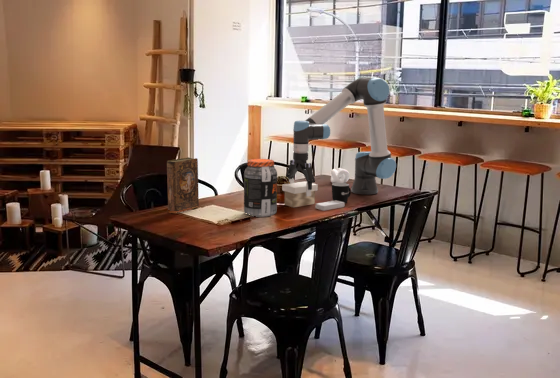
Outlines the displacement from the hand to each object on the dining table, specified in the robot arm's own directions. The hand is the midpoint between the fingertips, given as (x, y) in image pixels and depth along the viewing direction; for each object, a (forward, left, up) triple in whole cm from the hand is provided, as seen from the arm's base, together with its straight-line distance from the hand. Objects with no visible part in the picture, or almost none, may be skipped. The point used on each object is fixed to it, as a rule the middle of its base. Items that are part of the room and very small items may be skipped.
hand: (299, 193), depth 290 cm
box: (0, 0, -6) cm, 6 cm away
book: (+53, -25, -7) cm, 59 cm away
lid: (0, 0, +2) cm, 2 cm away
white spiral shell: (-57, -32, -7) cm, 66 cm away
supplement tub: (+26, +2, -7) cm, 27 cm away
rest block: (-8, +14, -6) cm, 17 cm away
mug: (-22, +8, -7) cm, 24 cm away
